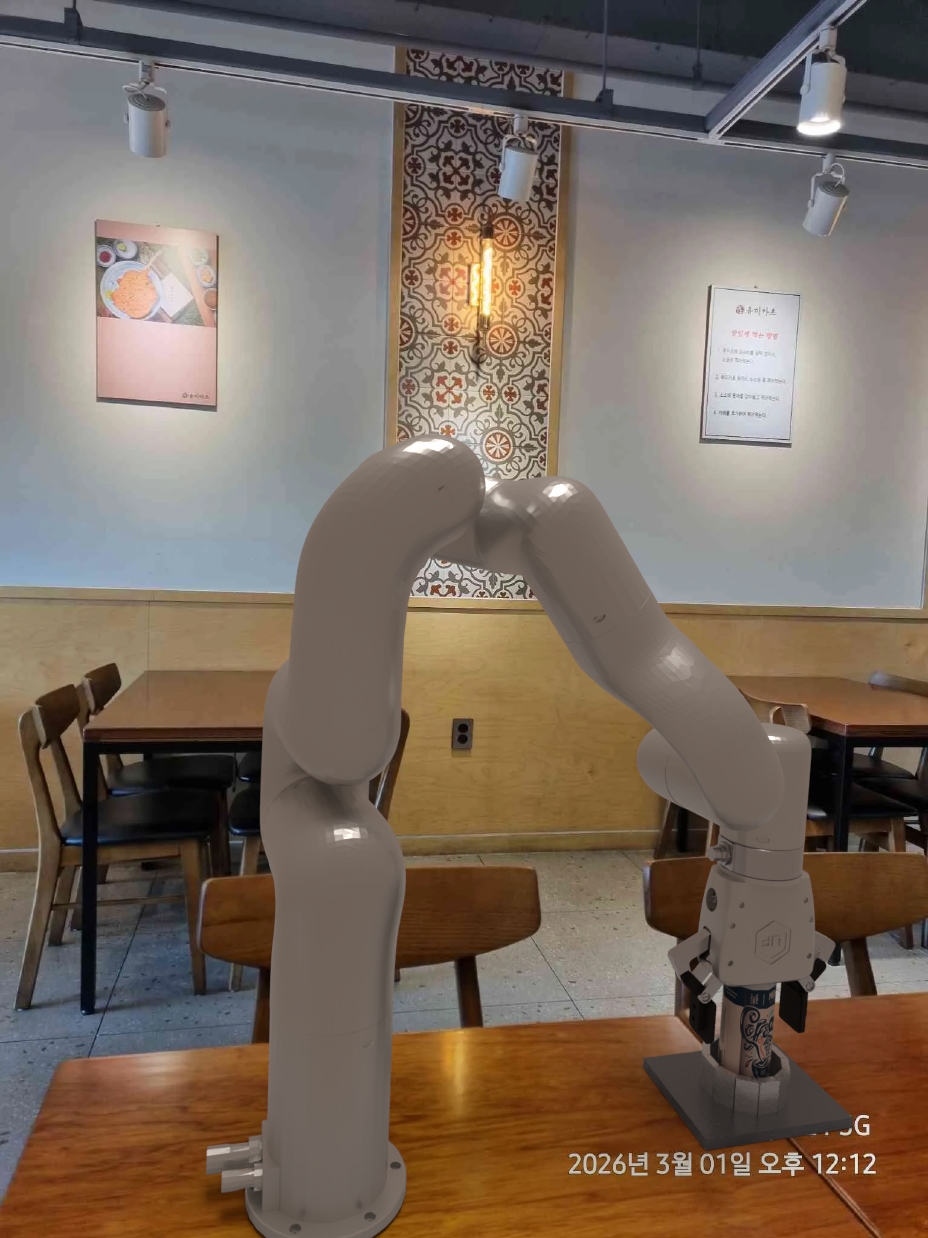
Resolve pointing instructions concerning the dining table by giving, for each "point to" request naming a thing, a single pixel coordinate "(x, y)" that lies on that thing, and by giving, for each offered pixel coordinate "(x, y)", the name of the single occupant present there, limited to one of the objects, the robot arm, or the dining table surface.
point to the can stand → (744, 1099)
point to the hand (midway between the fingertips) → (747, 1030)
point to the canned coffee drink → (747, 1029)
